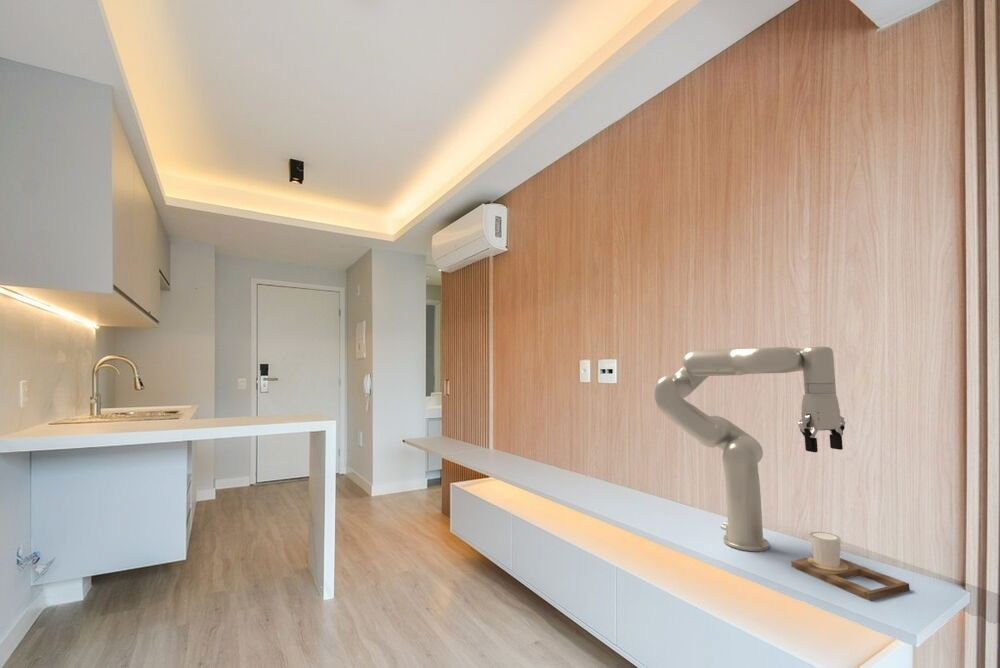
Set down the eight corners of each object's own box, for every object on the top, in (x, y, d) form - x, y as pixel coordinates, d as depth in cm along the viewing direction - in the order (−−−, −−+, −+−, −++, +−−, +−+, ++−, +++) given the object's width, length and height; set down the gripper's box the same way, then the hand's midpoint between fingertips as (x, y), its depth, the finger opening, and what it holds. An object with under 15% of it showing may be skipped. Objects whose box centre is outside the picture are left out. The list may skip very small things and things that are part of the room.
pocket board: (791, 566, 128) (790, 559, 128) (828, 558, 132) (828, 552, 132) (869, 600, 109) (868, 592, 109) (909, 590, 113) (909, 582, 113)
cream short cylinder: (836, 570, 121) (834, 542, 121) (806, 561, 126) (805, 535, 127) (846, 563, 125) (844, 536, 125) (817, 555, 130) (815, 529, 131)
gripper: (828, 388, 141) (833, 446, 140) (785, 390, 135) (789, 450, 134) (854, 389, 134) (859, 450, 133) (810, 391, 128) (814, 455, 127)
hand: (824, 450), depth 133 cm, fingers open, 9 cm apart
